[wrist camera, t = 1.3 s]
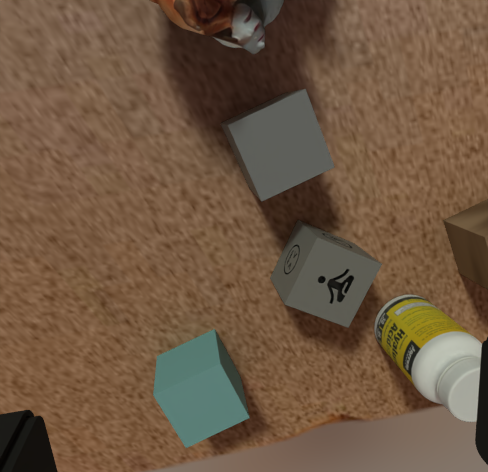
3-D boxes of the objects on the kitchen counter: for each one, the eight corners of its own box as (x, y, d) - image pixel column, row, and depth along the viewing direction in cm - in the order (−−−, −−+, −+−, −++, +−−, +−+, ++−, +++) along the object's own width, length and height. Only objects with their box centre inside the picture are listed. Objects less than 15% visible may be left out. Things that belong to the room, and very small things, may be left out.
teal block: (214, 328, 34) (220, 363, 29) (240, 377, 36) (249, 417, 31) (157, 355, 34) (153, 395, 29) (185, 403, 35) (186, 448, 31)
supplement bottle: (367, 302, 35) (435, 370, 26) (429, 285, 36) (518, 346, 26) (376, 358, 37) (442, 441, 27) (435, 341, 37) (520, 418, 28)
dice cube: (325, 298, 35) (348, 327, 30) (270, 277, 33) (284, 304, 29) (353, 242, 34) (382, 264, 29) (297, 219, 33) (317, 237, 28)
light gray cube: (285, 92, 30) (305, 88, 25) (311, 158, 31) (334, 167, 27) (220, 123, 30) (227, 125, 25) (249, 188, 31) (261, 201, 27)
